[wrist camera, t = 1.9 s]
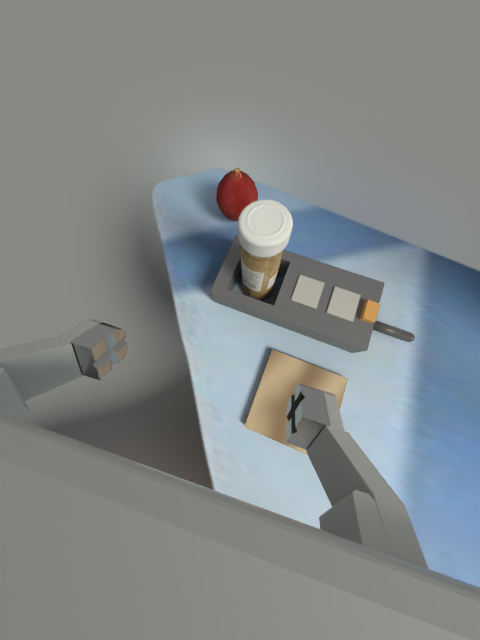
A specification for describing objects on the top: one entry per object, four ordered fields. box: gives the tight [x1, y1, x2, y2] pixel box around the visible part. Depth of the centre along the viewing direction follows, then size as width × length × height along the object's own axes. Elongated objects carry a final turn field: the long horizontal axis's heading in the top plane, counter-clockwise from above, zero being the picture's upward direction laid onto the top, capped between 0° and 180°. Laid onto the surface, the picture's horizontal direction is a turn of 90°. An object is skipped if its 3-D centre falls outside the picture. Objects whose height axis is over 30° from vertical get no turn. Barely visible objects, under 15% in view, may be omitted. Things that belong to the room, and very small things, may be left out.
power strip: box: [210, 235, 415, 353], centre depth 26 cm, size 27×9×4 cm, turn 68°
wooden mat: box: [245, 349, 348, 455], centre depth 25 cm, size 10×10×1 cm
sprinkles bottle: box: [238, 200, 293, 300], centre depth 23 cm, size 5×5×13 cm
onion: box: [216, 168, 258, 221], centre depth 28 cm, size 6×6×8 cm
